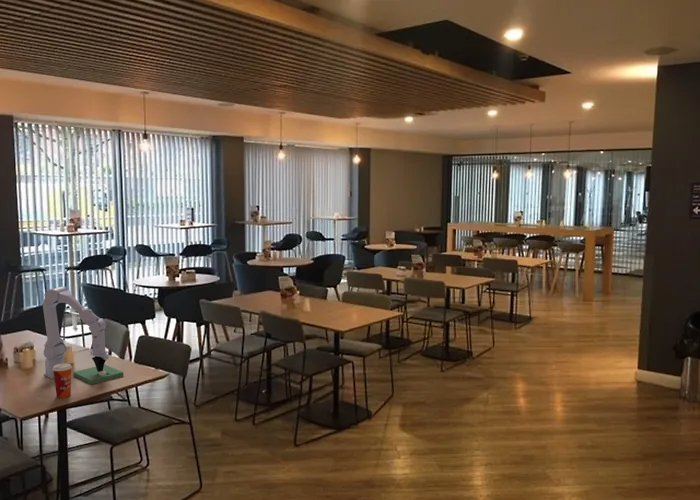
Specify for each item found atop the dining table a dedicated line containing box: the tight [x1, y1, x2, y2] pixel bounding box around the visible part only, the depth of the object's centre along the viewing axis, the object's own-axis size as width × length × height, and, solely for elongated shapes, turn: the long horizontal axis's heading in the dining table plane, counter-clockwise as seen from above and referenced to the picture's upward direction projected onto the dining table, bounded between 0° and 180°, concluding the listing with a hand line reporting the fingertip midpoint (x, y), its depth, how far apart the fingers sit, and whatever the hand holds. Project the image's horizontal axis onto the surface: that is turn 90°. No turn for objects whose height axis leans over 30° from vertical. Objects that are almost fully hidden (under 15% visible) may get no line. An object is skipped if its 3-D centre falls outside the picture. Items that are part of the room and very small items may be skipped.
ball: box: [99, 371, 107, 377], centre depth 283 cm, size 4×4×4 cm
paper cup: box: [52, 362, 73, 399], centre depth 258 cm, size 8×8×14 cm
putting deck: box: [72, 364, 124, 385], centre depth 286 cm, size 19×16×2 cm
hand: (100, 371), depth 284 cm, fingers closed
